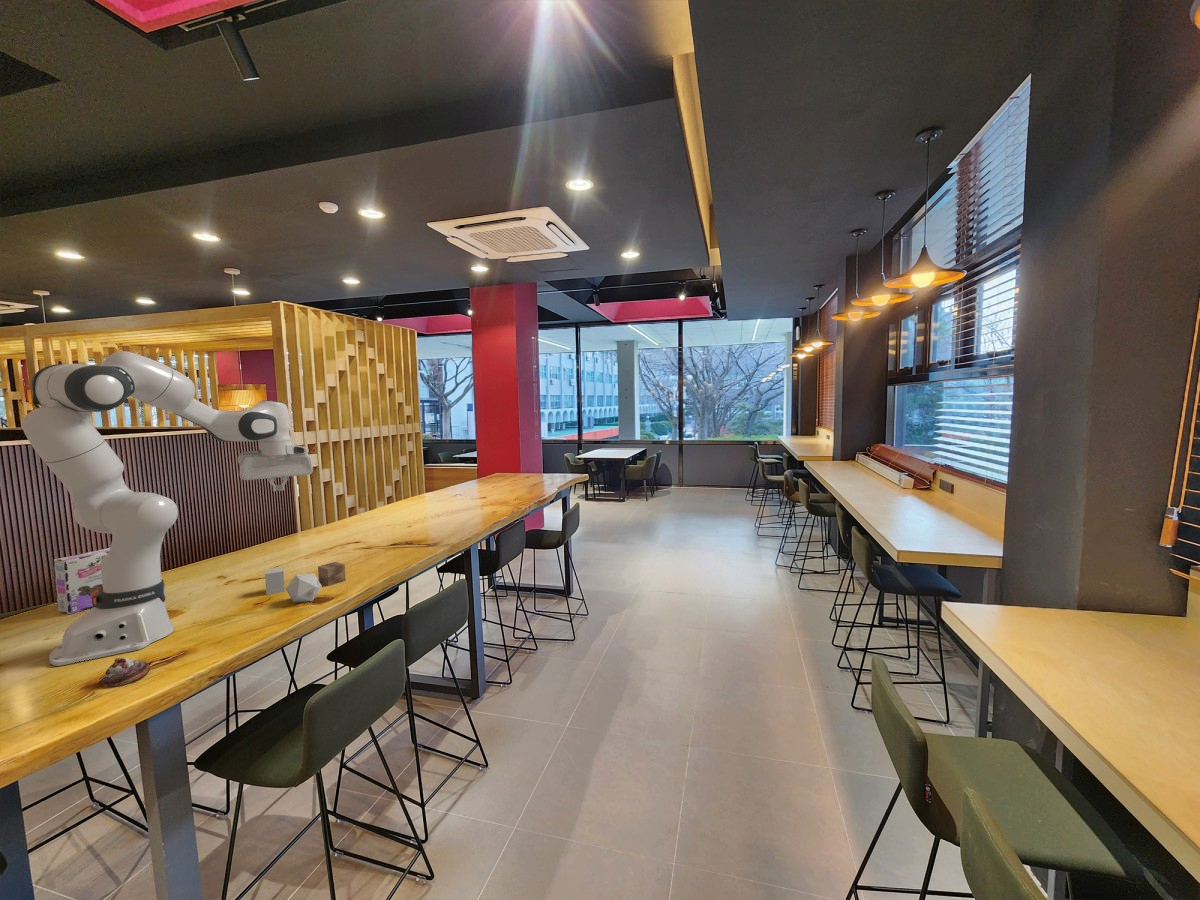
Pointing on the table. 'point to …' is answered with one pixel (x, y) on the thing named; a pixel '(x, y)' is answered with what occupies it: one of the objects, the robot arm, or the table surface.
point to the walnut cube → (331, 573)
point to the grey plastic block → (274, 581)
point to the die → (303, 587)
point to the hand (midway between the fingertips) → (278, 490)
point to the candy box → (78, 580)
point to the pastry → (125, 672)
